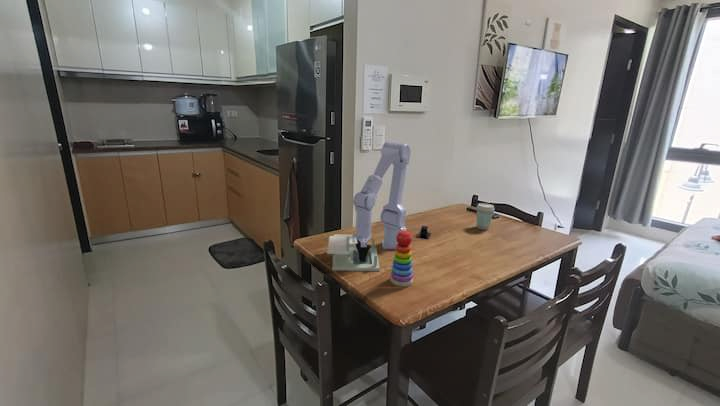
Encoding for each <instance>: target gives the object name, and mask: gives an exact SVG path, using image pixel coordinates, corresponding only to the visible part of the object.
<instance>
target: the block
mask: <svg viewBox="0 0 720 406" xmlns="http://www.w3.org/2000/svg"><path fill="white" fill-rule="evenodd" d="M357 262H360V260H359V253H358V250H357ZM365 262H368V254H367V258H366V261H365Z"/></svg>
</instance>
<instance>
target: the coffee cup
mask: <svg viewBox="0 0 720 406" xmlns="http://www.w3.org/2000/svg"><path fill="white" fill-rule="evenodd" d="M494 212H495V206H494V204H490V203H486V202H481V203H478V204H477V206H476V228H477V229H479V230H482V231H487V230H489V229H490V226H491V223H492V222H491V221H492V219H493V215H494Z"/></svg>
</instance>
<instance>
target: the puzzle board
mask: <svg viewBox="0 0 720 406" xmlns="http://www.w3.org/2000/svg"><path fill="white" fill-rule="evenodd" d="M375 241H376V240H375V238H372V239H371V248H370V249H369V251H368V262H357V248H356V247H349V254H332V268H331V269H332V271H358V272H360V271H361V272H363V271H364V272H380V269H381V267H380V262H379V257H378V250H377V249H378V248H377V247H375Z"/></svg>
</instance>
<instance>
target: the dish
mask: <svg viewBox="0 0 720 406" xmlns="http://www.w3.org/2000/svg"><path fill="white" fill-rule="evenodd" d="M333 236H350V241H349V247H356V243H358V242H357V239H356V237H353V234H333Z"/></svg>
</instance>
